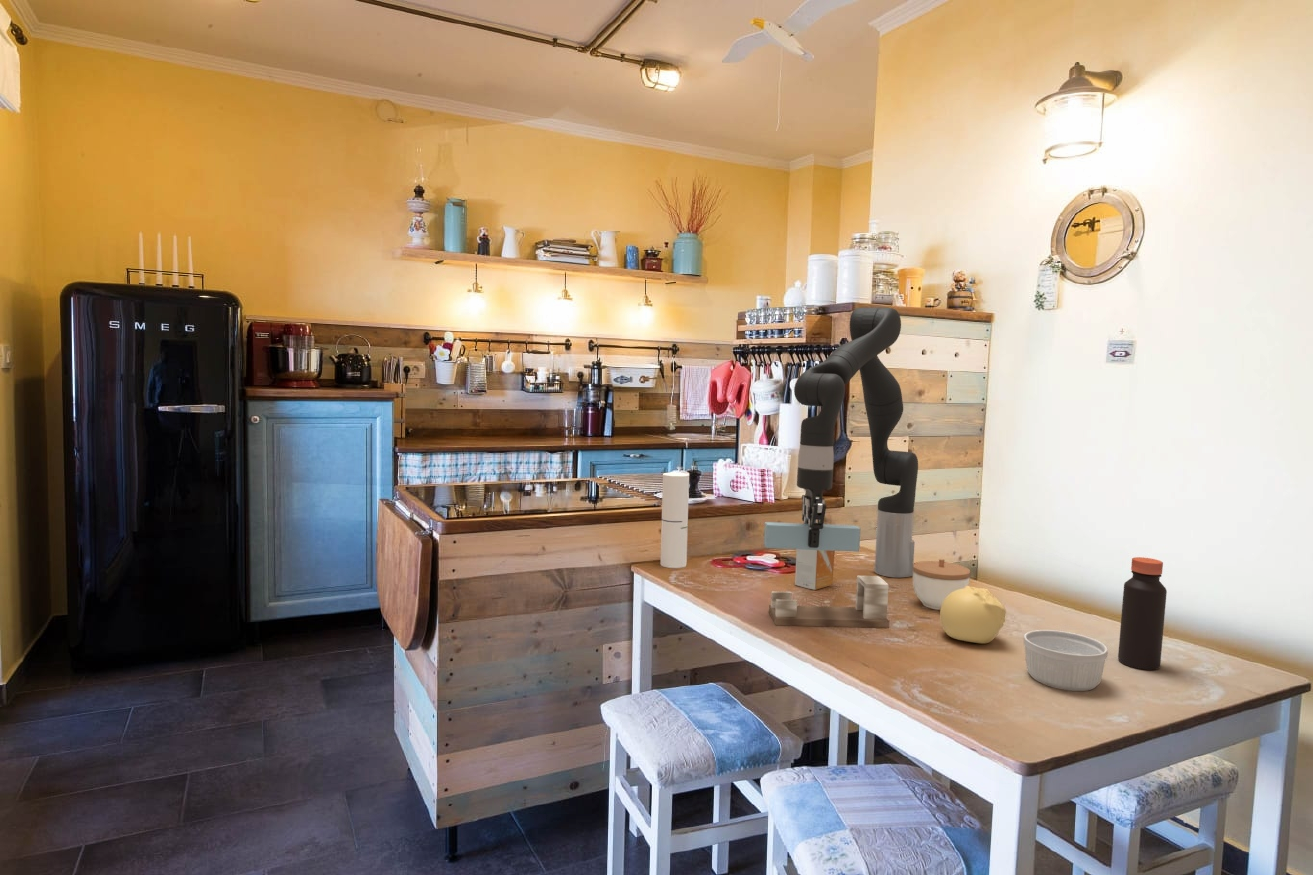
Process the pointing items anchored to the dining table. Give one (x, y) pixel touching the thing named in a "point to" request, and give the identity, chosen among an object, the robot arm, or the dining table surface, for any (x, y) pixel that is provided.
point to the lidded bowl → (938, 581)
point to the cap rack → (836, 608)
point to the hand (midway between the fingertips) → (811, 544)
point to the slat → (798, 537)
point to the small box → (814, 568)
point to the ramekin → (1064, 659)
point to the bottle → (1143, 615)
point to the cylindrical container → (674, 520)
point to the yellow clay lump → (972, 615)
